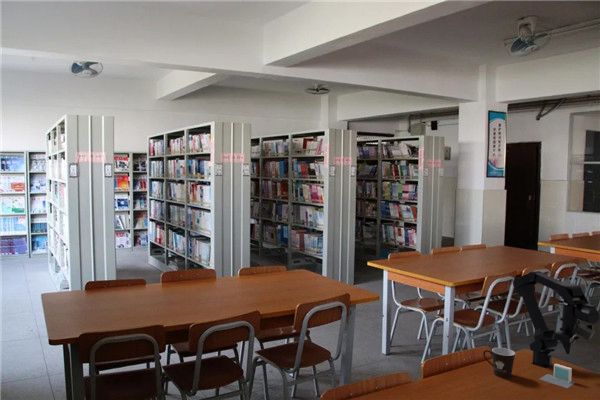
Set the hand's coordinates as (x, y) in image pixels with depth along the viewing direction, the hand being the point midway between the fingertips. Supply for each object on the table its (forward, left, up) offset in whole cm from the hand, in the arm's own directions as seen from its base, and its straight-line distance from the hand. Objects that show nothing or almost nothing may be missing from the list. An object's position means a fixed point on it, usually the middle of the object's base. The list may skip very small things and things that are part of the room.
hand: (568, 353), depth 192 cm
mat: (-1, -8, -10) cm, 13 cm away
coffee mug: (-19, -19, -10) cm, 29 cm away
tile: (0, -6, -9) cm, 11 cm away
